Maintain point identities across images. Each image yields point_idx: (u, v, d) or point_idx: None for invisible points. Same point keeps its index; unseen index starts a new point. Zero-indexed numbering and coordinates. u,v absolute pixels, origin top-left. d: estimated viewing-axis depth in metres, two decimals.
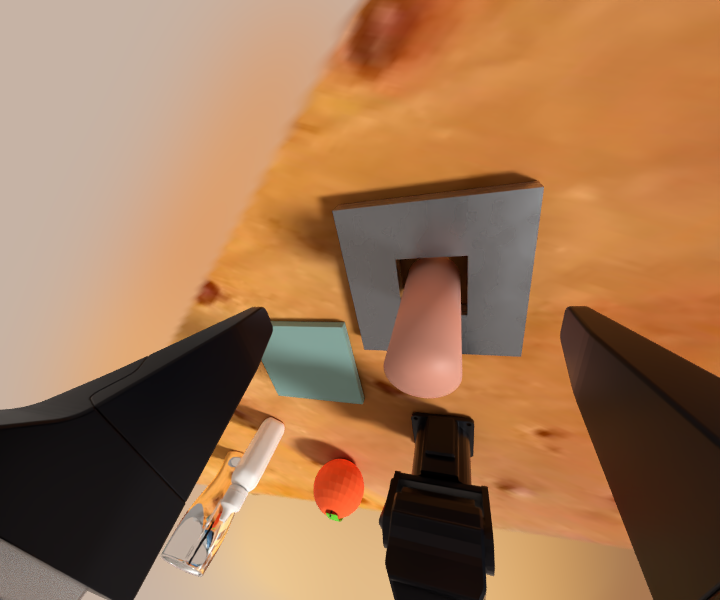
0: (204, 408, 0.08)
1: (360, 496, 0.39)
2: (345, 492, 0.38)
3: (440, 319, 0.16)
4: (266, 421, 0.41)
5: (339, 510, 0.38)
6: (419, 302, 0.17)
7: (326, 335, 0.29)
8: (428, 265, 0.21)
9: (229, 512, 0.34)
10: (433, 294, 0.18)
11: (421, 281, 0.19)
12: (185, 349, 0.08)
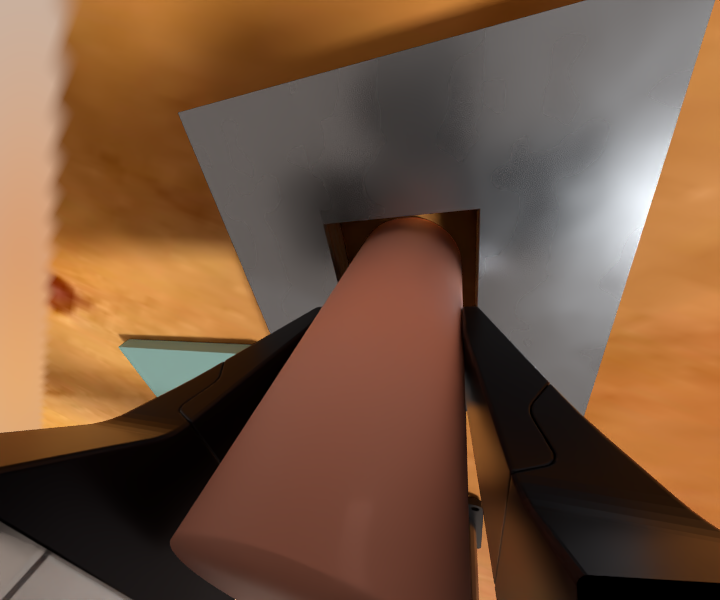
0: None
1: None
2: None
3: (390, 387, 0.04)
4: None
5: None
6: (341, 322, 0.06)
7: None
8: (391, 234, 0.10)
9: None
10: (385, 298, 0.06)
11: (366, 266, 0.08)
12: (264, 354, 0.07)
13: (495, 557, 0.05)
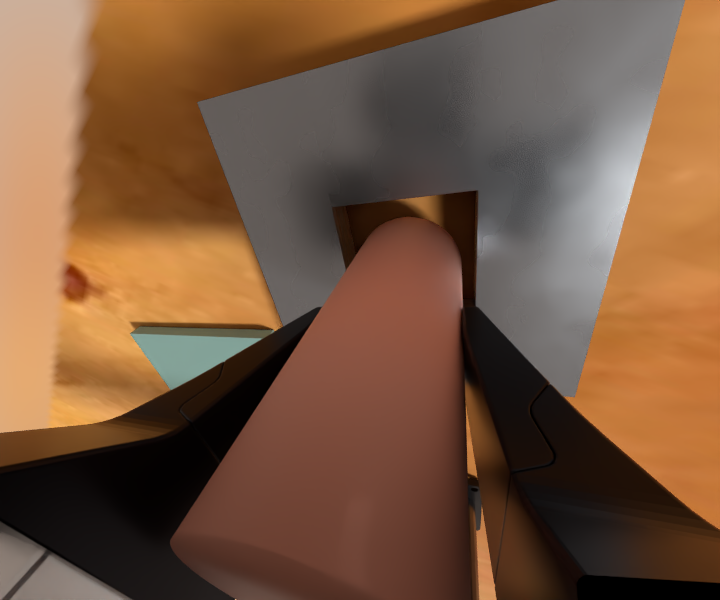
0: None
1: None
2: None
3: (391, 388, 0.04)
4: None
5: None
6: (341, 322, 0.06)
7: None
8: (391, 234, 0.10)
9: None
10: (385, 298, 0.06)
11: (366, 266, 0.08)
12: (264, 353, 0.07)
13: (495, 557, 0.05)
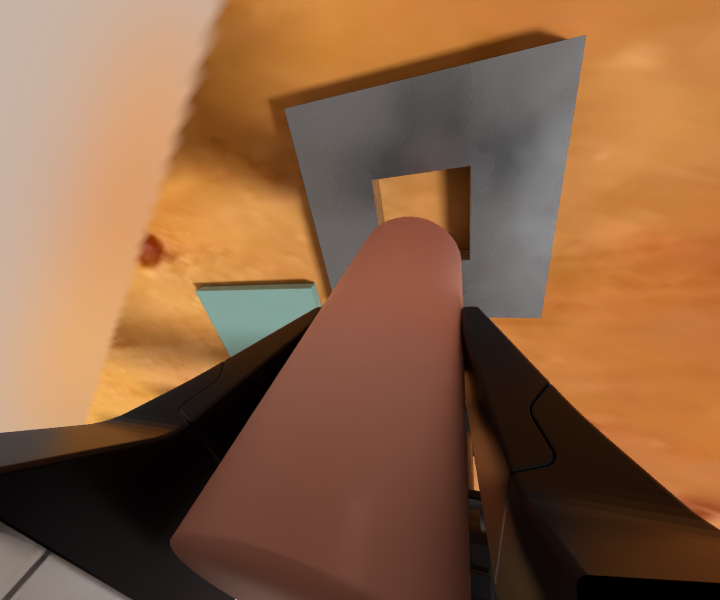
0: None
1: None
2: None
3: (391, 387, 0.04)
4: None
5: None
6: (341, 322, 0.06)
7: (292, 300, 0.23)
8: (391, 234, 0.10)
9: None
10: (385, 298, 0.06)
11: (366, 266, 0.08)
12: (264, 353, 0.07)
13: (495, 557, 0.05)
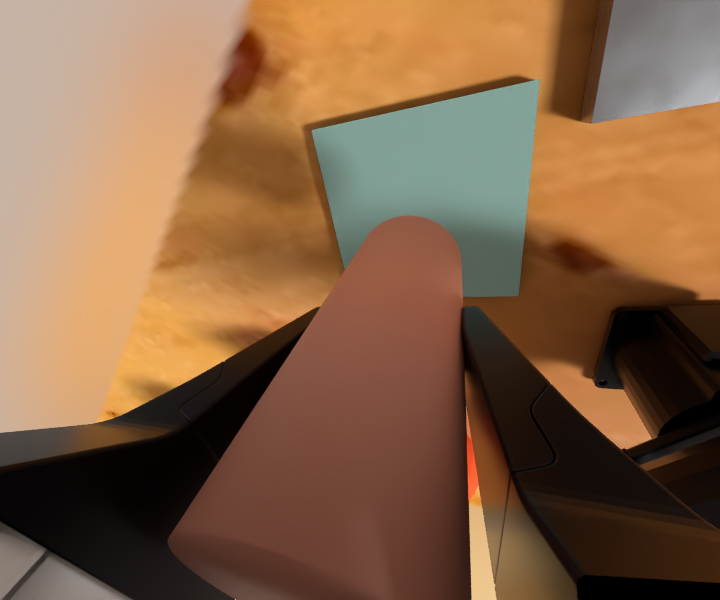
0: None
1: None
2: None
3: (390, 385, 0.04)
4: None
5: None
6: (340, 320, 0.06)
7: (491, 116, 0.14)
8: (391, 233, 0.10)
9: None
10: (385, 296, 0.06)
11: (366, 264, 0.08)
12: (264, 354, 0.07)
13: (495, 557, 0.05)
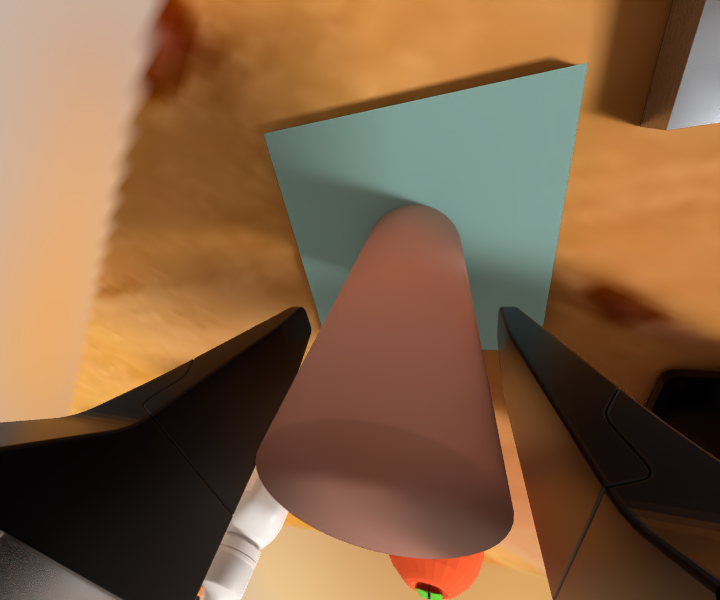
0: (251, 414, 0.08)
1: (483, 553, 0.20)
2: None
3: (428, 324, 0.05)
4: None
5: (450, 586, 0.18)
6: (374, 283, 0.07)
7: (512, 117, 0.10)
8: (401, 219, 0.11)
9: None
10: (409, 264, 0.07)
11: (384, 243, 0.09)
12: (233, 352, 0.07)
13: (558, 572, 0.05)
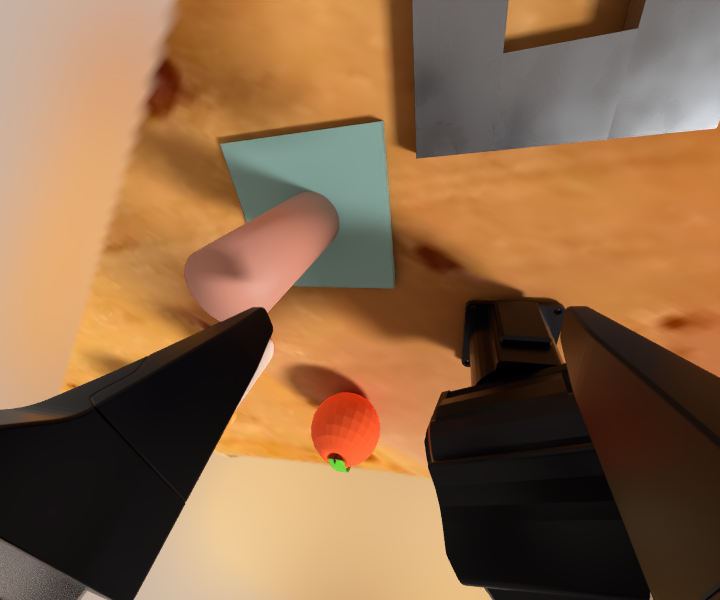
0: (204, 408, 0.08)
1: (376, 438, 0.29)
2: (356, 429, 0.27)
3: (257, 234, 0.14)
4: None
5: (347, 453, 0.27)
6: (250, 221, 0.15)
7: (351, 145, 0.18)
8: (293, 198, 0.19)
9: None
10: (271, 216, 0.16)
11: (272, 208, 0.17)
12: (185, 349, 0.08)
13: None
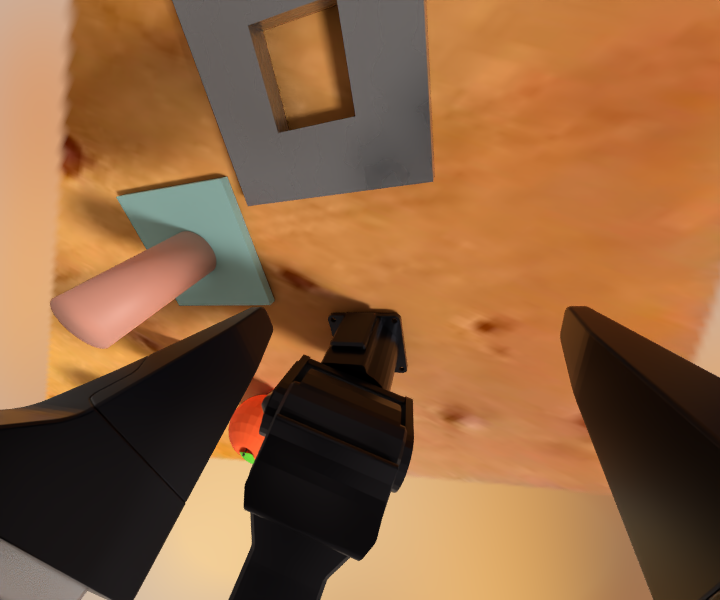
0: (204, 408, 0.08)
1: None
2: None
3: (105, 280, 0.19)
4: None
5: (252, 446, 0.31)
6: (111, 268, 0.20)
7: (206, 196, 0.23)
8: (167, 239, 0.24)
9: None
10: (130, 261, 0.21)
11: None
12: (185, 349, 0.08)
13: None
